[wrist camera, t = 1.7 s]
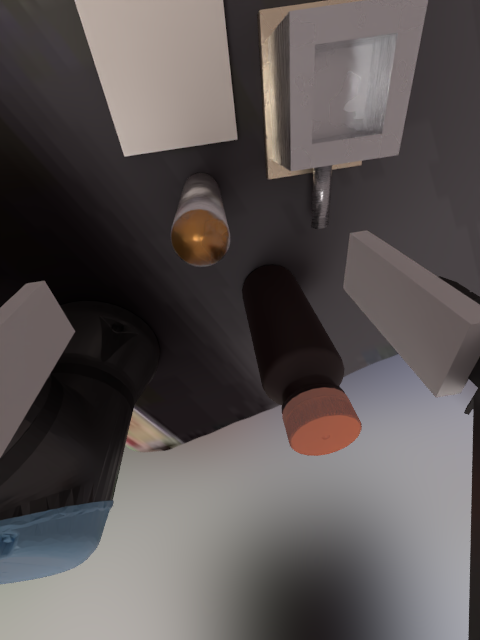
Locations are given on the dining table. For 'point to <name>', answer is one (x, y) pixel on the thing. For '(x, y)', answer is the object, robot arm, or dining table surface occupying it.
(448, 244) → the dining table surface
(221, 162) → the dining table surface
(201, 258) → the metal cylinder
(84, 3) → the pad
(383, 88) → the grey box
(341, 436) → the bottle
